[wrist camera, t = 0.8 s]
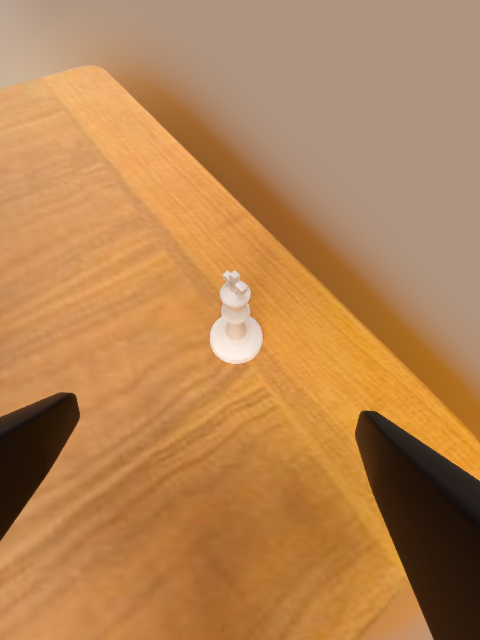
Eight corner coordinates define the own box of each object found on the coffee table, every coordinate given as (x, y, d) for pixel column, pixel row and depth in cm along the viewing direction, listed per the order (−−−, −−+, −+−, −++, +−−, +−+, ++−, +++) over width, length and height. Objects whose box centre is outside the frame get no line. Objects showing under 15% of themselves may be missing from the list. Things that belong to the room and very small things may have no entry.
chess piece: (236, 305, 24) (235, 228, 15) (273, 338, 23) (296, 274, 14) (198, 338, 23) (173, 274, 14) (235, 375, 22) (234, 331, 12)
